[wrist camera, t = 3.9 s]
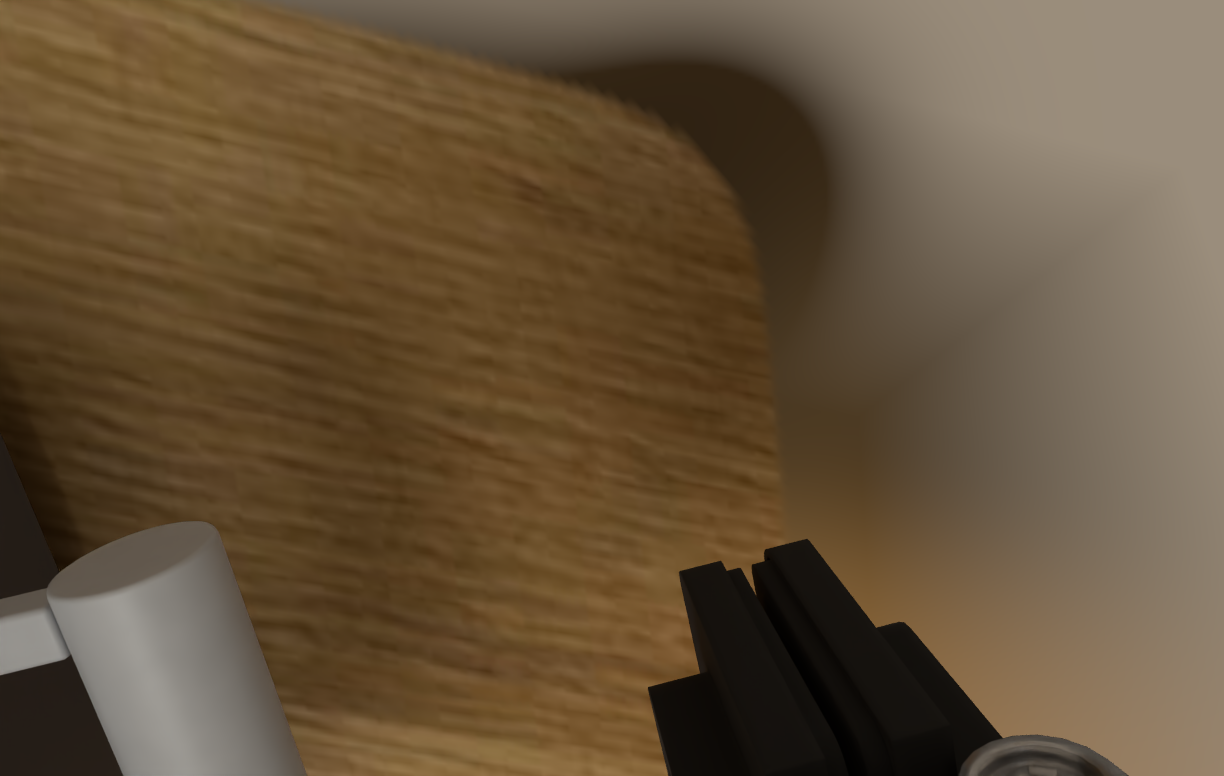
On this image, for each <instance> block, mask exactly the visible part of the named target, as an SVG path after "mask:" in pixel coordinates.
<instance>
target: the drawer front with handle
mask: <svg viewBox="0 0 1224 776" xmlns="http://www.w3.org/2000/svg"><path fill="white" fill-rule="evenodd" d="M0 776H307V774H306V771H305V768H304V766H303V763H302V760H301V757H300V755H299V752H298V749H297V746H296V744H295V741H294V738H293V735H292V733H291V730H290V727H289V724H288V722H287V719H286V716H285V713H284V711H283V708H282V705H281V702H280V700H279V697H278V694H277V691H276V689H275V686H274V683H273V680H272V678H271V675H270V672H269V669H268V667H267V664H266V661H265V658H264V656H263V653H262V650H261V647H260V645H259V642H258V639H257V636H256V634H255V631H254V628H253V625H252V623H251V620H250V617H249V614H248V612H247V609H246V606H245V603H244V601H243V598H242V595H241V592H240V590H239V587H238V584H237V581H236V579H235V576H234V573H233V570H232V568H231V565H230V562H229V559H228V557H227V554H226V551H225V548H224V546H223V543H222V540H221V537H220V535H219V532H218V530H217V529H216V528H215V527H214V526H213V525H212V524H210V523H207V522H202V521H187V522H178V523H171V524H166V525H161V526H157V527H153V528H149V529H146V530H143V531H139V532H136V533H133V534H131V535H128V536H125V537H122V538H120V539H117V540H115V541H113V542H110V543H108V544H106V545H104V546H101V547H99V548H97V549H95V550H93V551H92V552H90V553H88V554H86V555H84V556H83V557H81V558H79V559H78V560H76V561H75V562H73V563H72V564H70V565H69V566H67V567H66V568H65V569H63V570H62V571H61V572H59V571H58V568H57V566H56V563H55V561H54V559H53V556H52V554H51V552H50V549H49V547H48V545H47V542H46V540H45V537H44V535H43V533H42V530H41V528H40V526H39V523H38V521H37V519H36V516H35V514H34V511H33V509H32V507H31V504H30V502H29V500H28V497H27V495H26V493H25V490H24V488H23V485H22V483H21V481H20V478H19V476H18V474H17V471H16V469H15V466H14V464H13V462H12V459H11V457H10V455H9V452H8V450H7V448H6V445H5V443H4V440H3V438H2V436H1V433H0Z"/></svg>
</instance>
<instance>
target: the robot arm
mask: <svg viewBox="0 0 1224 776" xmlns="http://www.w3.org/2000/svg"><path fill="white" fill-rule="evenodd" d="M764 559H765V561H764V562H760V563H756V564H752V575H753V580H754V586H755V591H756V595H755V593H754V591H753V589H752V587H751V586H750V584H749V582H748V580H747V579H746V577H745V575H744V573H743V571H742V570H741V568H737V569H733V570H729V571H726V569H725V567H724V565H723V563H722V562H721V561H718V562H714V563H710V564H706V565H702V566H698V567H694V568H690V569H687V570H683V571H679V576H680V582H681V587H682V592H683V596H684V601H685V606H686V610H687V615H688V619H689V624H690V629H691V633H692V638H693V642H694V647H695V652H696V656H697V661H698V665H699V670H700V674H697V675H693V676H689V677H685V678H681V679H678V680H674V681H670V682H666V683H662V684H658V685H655V686H651V687H648V691H649V696H650V700H651V704H652V709H653V713H654V717H655V721H656V726H657V730H658V734H659V738H660V743H661V747H662V751H663V755H664V759H665V763H666V767H667V771H668V775H669V776H1128V775H1127V774H1126V773H1124V772H1123V771H1122V770H1121V769H1119V768H1118V767H1117V766H1115V765H1114V764H1113V763H1112V762H1110V761H1109V760H1108V759H1106V758H1105V757H1103V756H1101V755H1100V754H1098V753H1096V752H1095V751H1093V750H1091V749H1090V748H1088V747H1086V746H1083V745H1080V744H1077V743H1074V742H1071V741H1069V740H1066V739H1063V738H1056V737H1049V736H1043V735H1020V736H1010V737H1006V738H1002V737H1001V736H1000V734H999V733H998V732H997V731H996V730H995V728H994V727H993V726H992V725H991V724H990V722H989V721H988V720H987V719H986V718H985V716H984V715H983V714H982V713H981V712H980V711H979V709H978V708H977V707H976V706H975V704H974V703H973V702H972V701H971V700H970V698H969V697H968V696H967V695H966V694H965V692H964V691H963V690H962V689H961V688H960V687H959V685H958V684H957V683H956V682H955V681H954V679H953V678H952V677H951V676H950V675H949V673H948V672H947V671H946V670H945V669H944V667H943V666H942V665H941V664H940V663H939V662H938V660H937V659H936V658H935V657H934V656H933V654H932V653H931V652H930V651H929V650H928V648H927V647H926V646H925V645H924V644H923V643H922V641H921V640H920V639H919V638H918V636H917V635H916V634H915V633H914V632H913V631H912V629H911V628H910V627H909V626H908V625H906V624H905V623H904V622H897V623H893V624H889V625H885V626H881V627H877V628H876V627H875V626H874V624H873V623H872V622H871V621H870V619H869V618H868V616H867V615H866V614H865V613H864V611H863V610H862V609H861V607H860V606H859V605H858V604H857V602H856V601H855V600H854V598H853V597H852V596H851V595H850V593H849V592H848V590H847V589H846V588H845V587H844V585H843V584H842V583H841V581H840V580H839V579H838V577H837V576H836V575H835V574H834V572H833V571H832V570H831V569H830V567H829V566H828V565H827V563H826V562H825V561H824V559H823V558H822V557H821V555H820V554H819V553H818V551H817V550H816V549H815V547H814V546H813V545H812V544H811V542H810V541H809V540H808V539H805V540H801V541H797V542H793V543H789V544H785V545H781V546H777V547H773V548H769V549H765V552H764Z"/></svg>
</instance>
